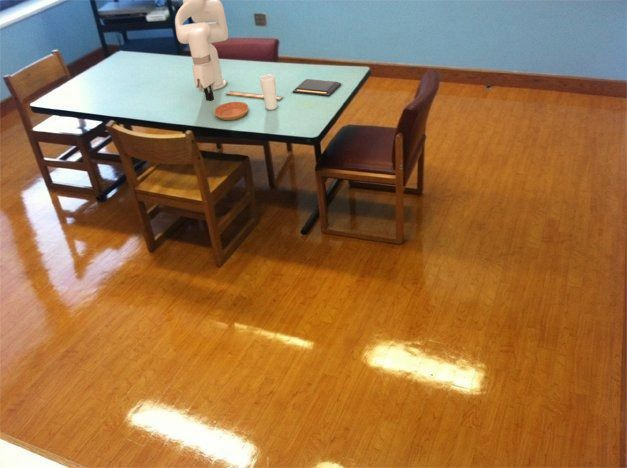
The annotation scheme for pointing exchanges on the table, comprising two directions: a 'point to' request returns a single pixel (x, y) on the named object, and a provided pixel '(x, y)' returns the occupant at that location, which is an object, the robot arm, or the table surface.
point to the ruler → (250, 95)
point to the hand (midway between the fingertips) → (210, 100)
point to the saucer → (231, 110)
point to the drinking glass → (269, 91)
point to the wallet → (317, 87)
